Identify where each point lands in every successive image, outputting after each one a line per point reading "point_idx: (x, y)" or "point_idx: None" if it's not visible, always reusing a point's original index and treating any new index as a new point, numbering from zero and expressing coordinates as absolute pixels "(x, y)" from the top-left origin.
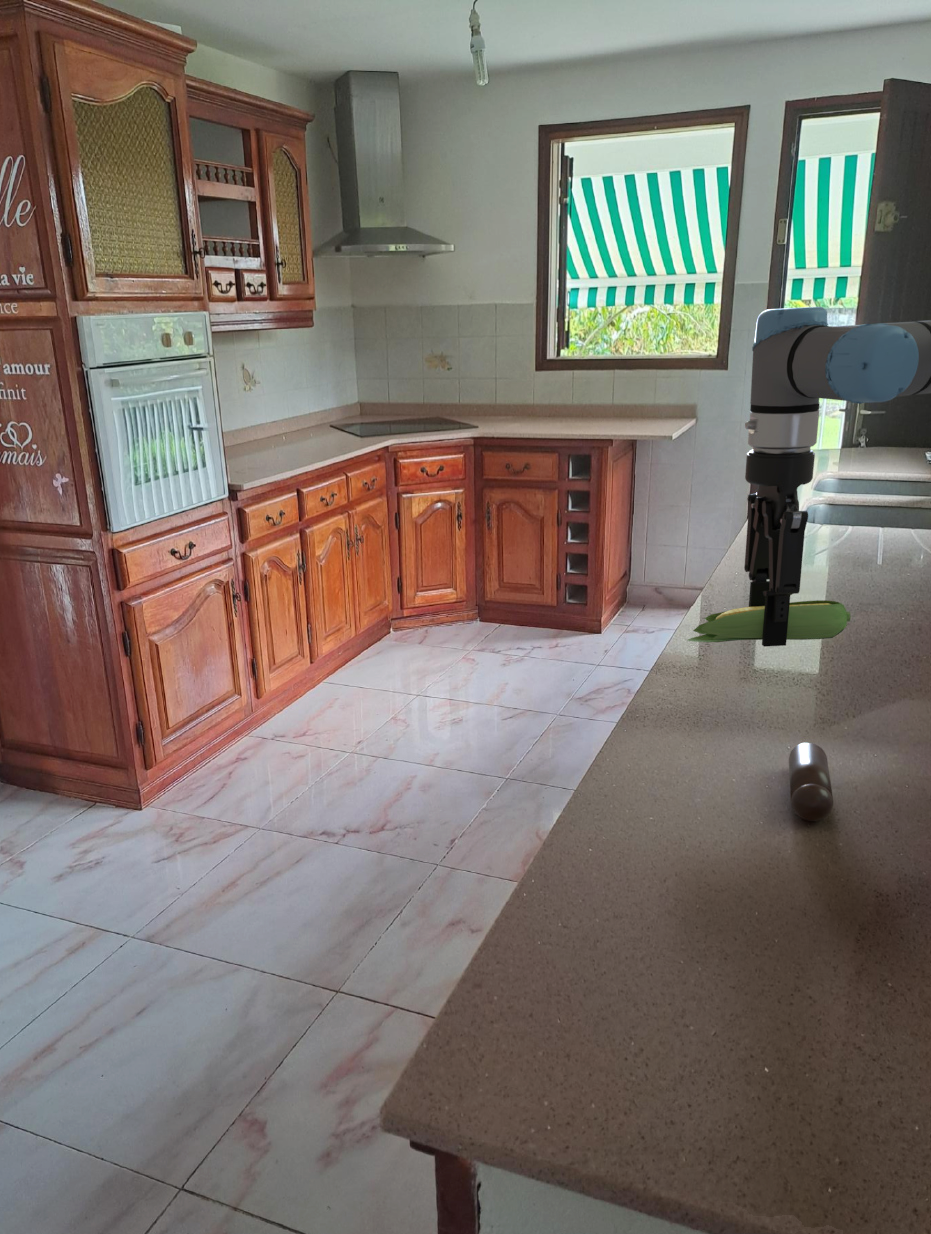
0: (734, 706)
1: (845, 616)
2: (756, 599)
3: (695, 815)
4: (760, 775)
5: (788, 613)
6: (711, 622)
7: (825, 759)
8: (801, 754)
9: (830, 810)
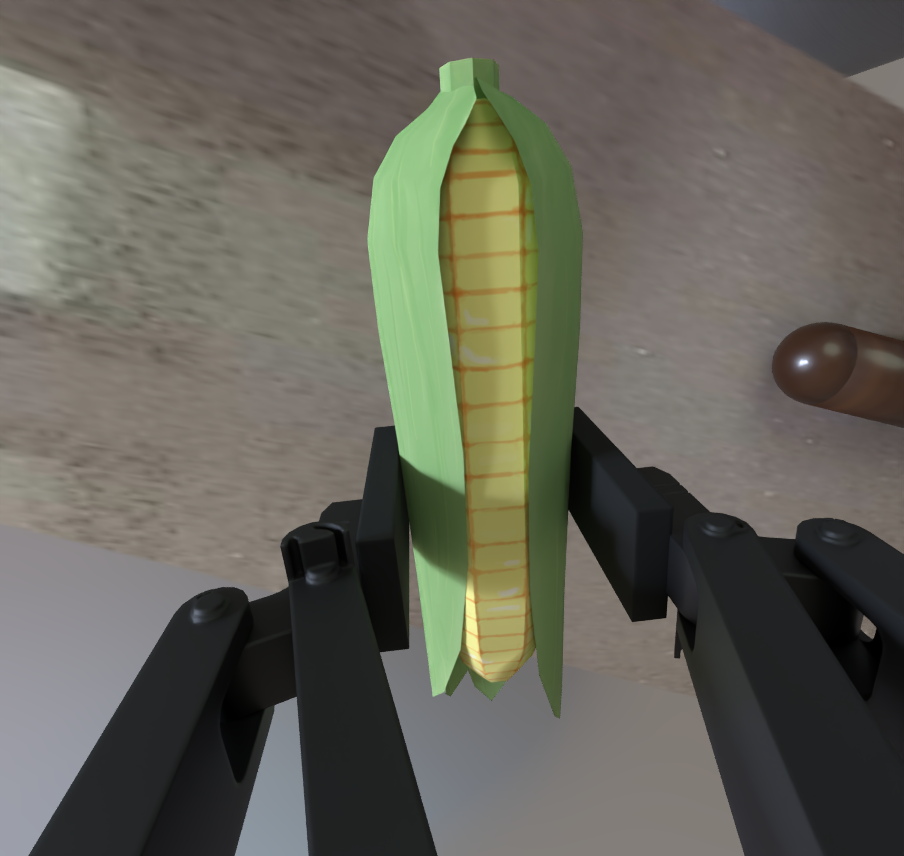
0: (383, 420)
1: (521, 105)
2: (406, 564)
3: None
4: (762, 442)
5: (626, 459)
6: (553, 703)
7: (891, 346)
8: (884, 403)
9: None
